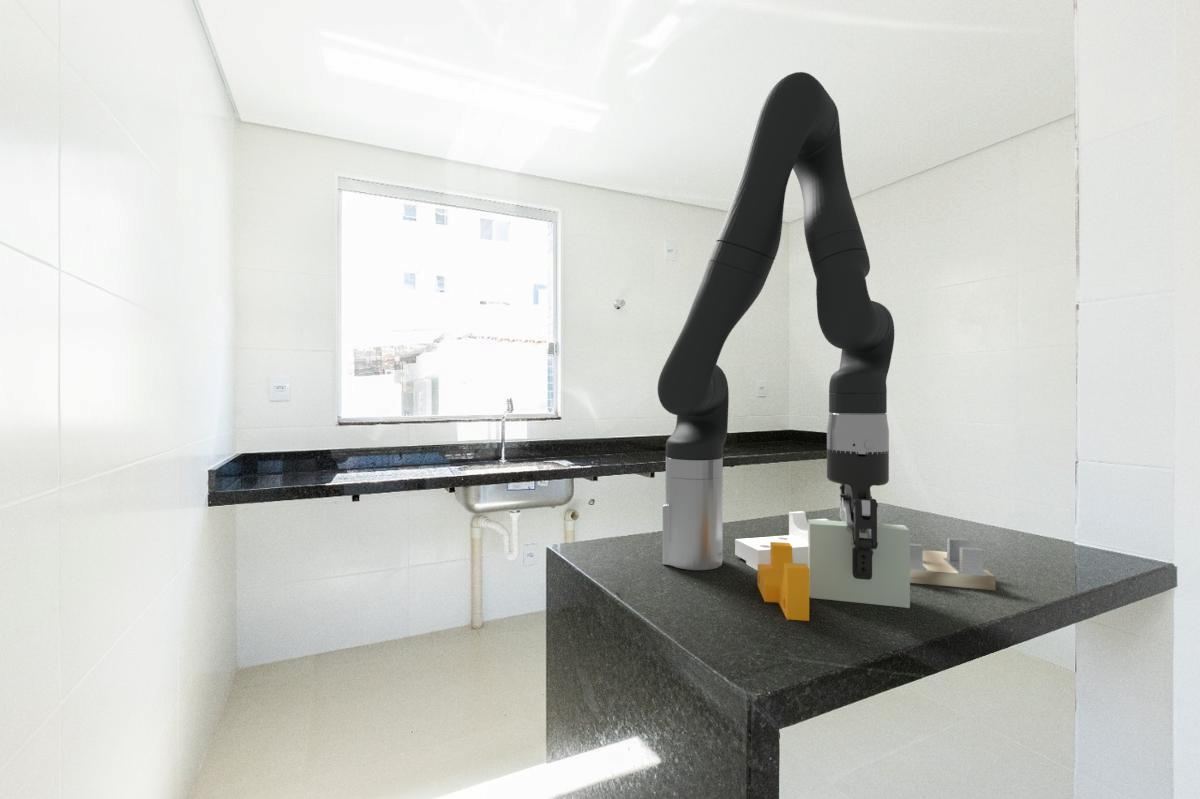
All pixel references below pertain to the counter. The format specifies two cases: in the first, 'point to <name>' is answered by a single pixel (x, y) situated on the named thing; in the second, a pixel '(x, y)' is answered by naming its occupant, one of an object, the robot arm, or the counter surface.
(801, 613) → the orange stepped block
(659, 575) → the counter surface
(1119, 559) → the counter surface
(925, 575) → the wooden base board
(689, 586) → the counter surface
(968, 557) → the grey slotted panel holder
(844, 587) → the door
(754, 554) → the bracket
